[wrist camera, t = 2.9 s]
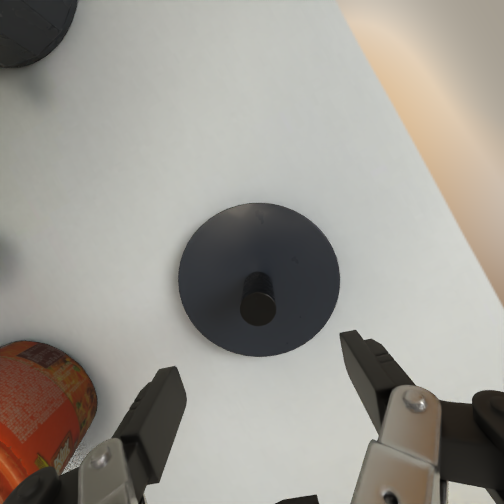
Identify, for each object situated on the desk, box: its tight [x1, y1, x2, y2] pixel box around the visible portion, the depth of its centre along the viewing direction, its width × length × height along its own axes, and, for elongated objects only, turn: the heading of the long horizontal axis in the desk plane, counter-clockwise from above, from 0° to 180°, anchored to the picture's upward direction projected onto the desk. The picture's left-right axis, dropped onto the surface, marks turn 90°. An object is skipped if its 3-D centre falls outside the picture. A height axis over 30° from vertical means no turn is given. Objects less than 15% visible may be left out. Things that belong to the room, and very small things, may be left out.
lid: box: [178, 203, 340, 357], centre depth 21 cm, size 15×15×6 cm
